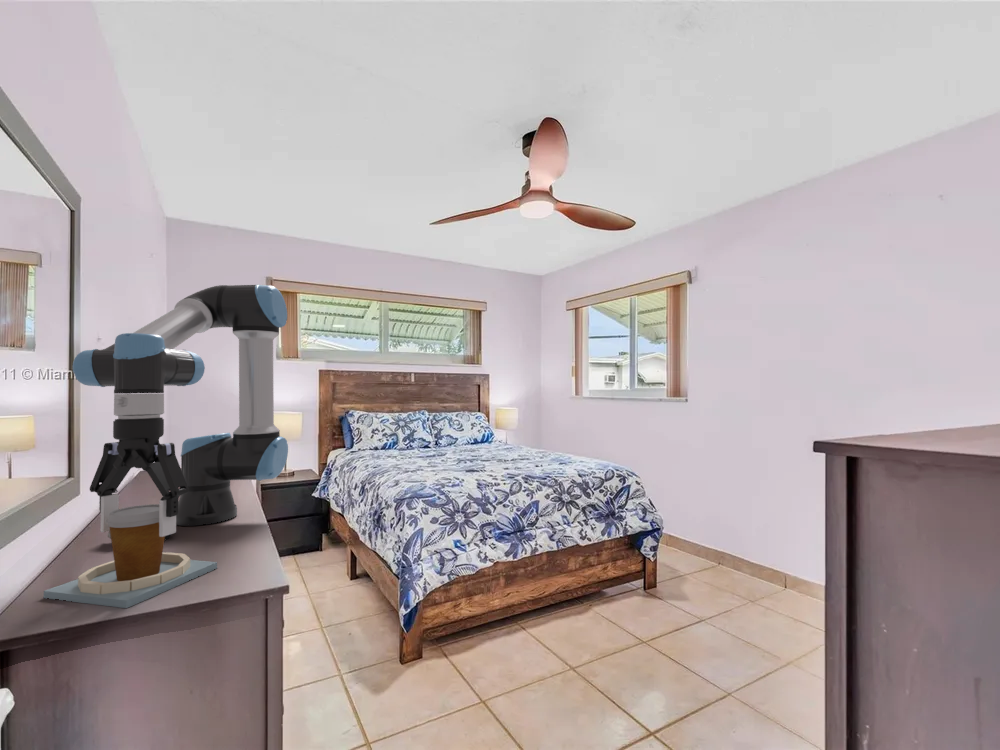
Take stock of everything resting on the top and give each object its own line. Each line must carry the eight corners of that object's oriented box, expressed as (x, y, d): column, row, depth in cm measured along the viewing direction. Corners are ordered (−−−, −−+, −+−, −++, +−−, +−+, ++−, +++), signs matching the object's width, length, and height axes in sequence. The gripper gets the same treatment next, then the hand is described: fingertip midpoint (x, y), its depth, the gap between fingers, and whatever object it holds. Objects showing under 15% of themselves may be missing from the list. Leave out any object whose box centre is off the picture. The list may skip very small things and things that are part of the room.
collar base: (144, 561, 99) (144, 548, 99) (217, 568, 95) (217, 554, 95) (43, 598, 82) (43, 582, 82) (126, 608, 78) (126, 591, 78)
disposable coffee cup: (181, 569, 91) (182, 505, 92) (126, 589, 82) (127, 518, 83) (148, 563, 95) (149, 502, 95) (92, 581, 86) (93, 513, 86)
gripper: (66, 418, 89) (64, 534, 88) (175, 418, 83) (174, 543, 82) (108, 415, 96) (106, 522, 96) (211, 415, 90) (210, 530, 90)
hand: (138, 532), depth 89 cm, fingers open, 13 cm apart
